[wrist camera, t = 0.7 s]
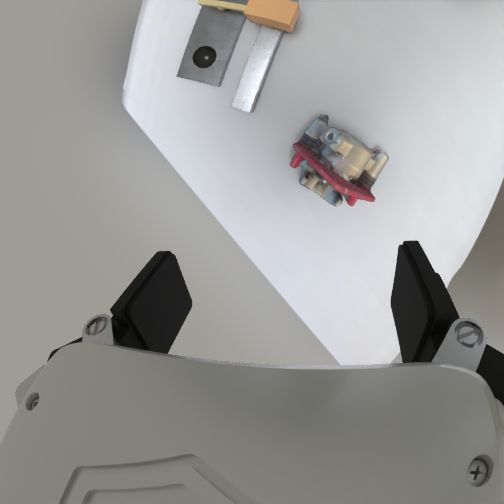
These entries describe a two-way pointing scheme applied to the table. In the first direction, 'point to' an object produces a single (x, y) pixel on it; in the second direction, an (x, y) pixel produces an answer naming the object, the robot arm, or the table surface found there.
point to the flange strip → (212, 44)
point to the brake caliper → (336, 164)
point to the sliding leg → (264, 12)
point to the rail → (257, 68)
